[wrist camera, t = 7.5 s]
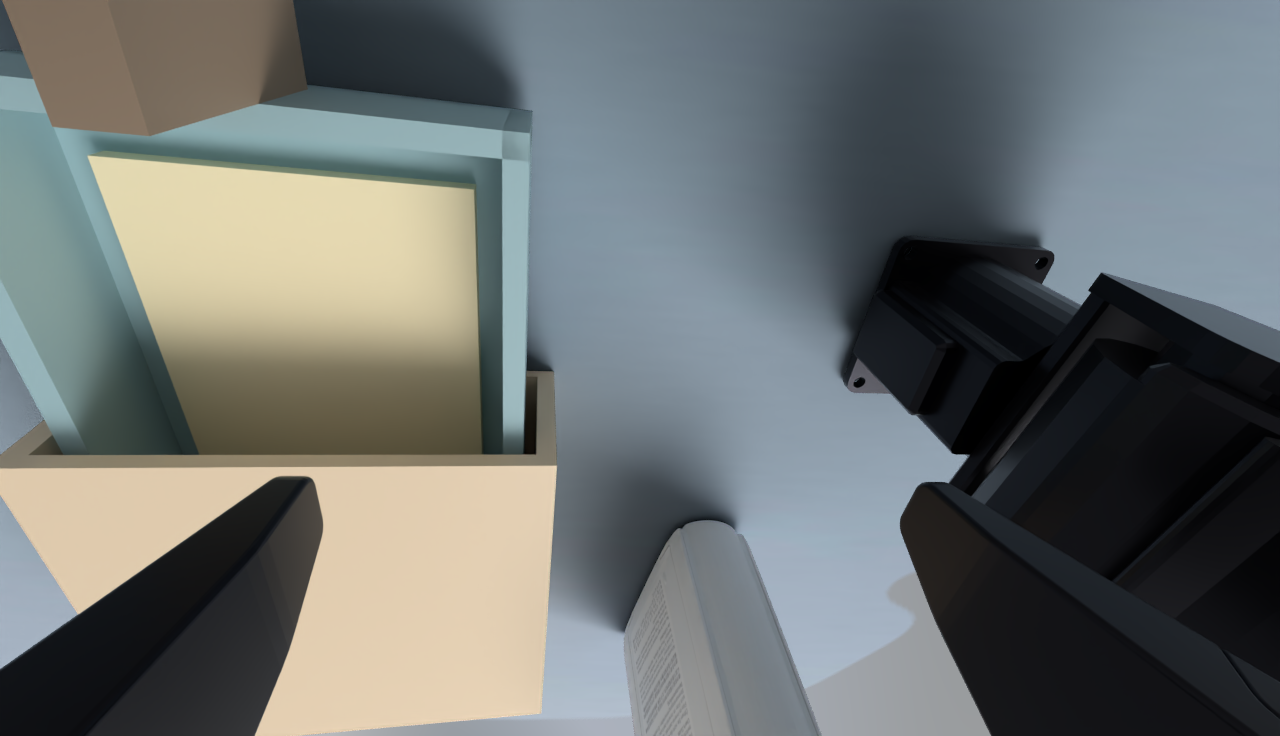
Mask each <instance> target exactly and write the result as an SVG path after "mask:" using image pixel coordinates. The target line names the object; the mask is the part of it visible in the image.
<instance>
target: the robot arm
mask: <svg viewBox="0 0 1280 736" xmlns="http://www.w3.org/2000/svg"><path fill="white" fill-rule="evenodd" d="M909 247H912V248H911V251H910V252H909V253H908V254H907V255H906V256H904V253H905V251H906V250H907V249H908V248H909ZM1038 259H1039V261H1038V262H1037V260H1038ZM1036 262H1037V263H1036ZM1053 262H1054V254H1053V253H1052V252H1051V251H1049V250H1047V249H1044V248H1042V247H1036V246H1024V245H1012V244H1001V243H989V242H977V241H965V240H953V239H942V238H930V237H918V236H905V237H903V238H901V239H899V240H898V241H897V242H896V243H895V245H894V246H893V248H892V251H891V253H890V256H889V259H888V261H887V264H886V267H885V269H884V272H883V274H882V277H881V280H880V282H879V285H878V288H877V290H876V293H875V295H874V296H873V298H872V301H871V304H870V306H869V309H868V312H867V314H866V317H865V320H864V322H863V325H862V327H861V330H860V333H859V335H858V338H857V341H856V343H855V346H854V349H853V354H852V356H851V359H850V362H849V364H848V367H847V370H846V372H845V375H844V378H843V382H844V385H845V386H846V387H847V388H848V389H849V390H850V391H851V392H854V393H888V394H891V395H892V396H893V397H894V398H895V399H896V400H897V401H898V402H899V403H900V404H901V405H902V407H903V408H904V409H905V410H906V411H907V412H908V413H909V414H911V415H916V416H917V417H918V418H919V419H920V420H921V421H922V422H923V423H924V424H925V425H926V426H927V427H928V428H929V429H930V430H931V431H932V433H933V434H934V435H935V436H936V437H937V438H938V439H939V440H940V441H941V442H942V443H943V444H944V445H945V446H946V447H947V448H948V449H949V451H950V452H951V453H952V454H965V455H966V456H967V457H968V458H967V459H966V460H965V462H964V463H963V464H962V466H961V467H960V468H959V470H958V471H957V472H956V474H955V475H954V476H953V478H952V479H951V480H950V482H949V483H945V482H924V483H921V484H920V485H919V486H918V487H917V488H916V490H915V492H914V493H913V495H912V497H911V499H910V501H909V503H908V505H907V506H906V508H905V510H904V512H903V514H902V516H901V519H900V530H901V534H902V536H903V539H904V542H905V544H906V547H907V549H908V552H909V555H910V557H911V560H912V563H913V565H914V568H915V570H916V573H917V575H918V578H919V581H920V583H921V586H922V589H923V591H924V594H925V596H926V599H927V602H928V604H929V607H930V609H931V612H932V614H933V617H934V619H935V622H936V624H937V626H938V628H939V630H940V632H941V635H942V637H943V639H944V641H945V643H946V645H947V647H948V649H949V651H950V653H951V655H952V657H953V659H954V661H955V663H956V665H957V667H958V669H959V671H960V673H961V675H962V677H963V679H964V682H965V683H966V686H967V688H968V690H969V692H970V694H971V696H972V698H973V700H974V702H975V704H976V706H977V708H978V710H979V712H980V714H981V716H982V718H983V720H984V722H985V724H986V726H987V728H988V730H989V732H990V734H991V736H1280V331H1278V330H1276V329H1273V328H1271V327H1268V326H1266V325H1263V324H1261V323H1258V322H1256V321H1253V320H1251V319H1248V318H1246V317H1243V316H1241V315H1238V314H1236V313H1233V312H1231V311H1228V310H1226V309H1223V308H1221V307H1218V306H1215V305H1212V304H1209V303H1205V302H1202V301H1199V300H1195V299H1192V298H1188V297H1185V296H1181V295H1178V294H1174V293H1171V292H1168V291H1164V290H1161V289H1157V288H1154V287H1150V286H1147V285H1144V284H1140V283H1137V282H1133V281H1130V280H1126V279H1123V278H1120V277H1116V276H1113V275H1109V274H1106V273H1101V274H1100V275H1099V276H1098V278H1097V279H1096V280H1095V282H1094V283H1093V284H1092V286H1091V287H1090V288H1089V291H1090V292H1091V294H1090V295H1089V296H1088V298H1087V299H1086V300H1085V302H1084V303H1083V304H1082V305H1080V304H1078V303H1076V302H1074V301H1072V300H1070V299H1068V298H1067V297H1065V296H1063V295H1061V294H1059V293H1057V292H1055V291H1053V290H1051V289H1050V288H1048V287H1046V286H1044V285H1042V283H1043V281H1044V279H1045V277H1046V275H1047V274H1048V272H1049V270H1050V268H1051V266H1052V264H1053ZM1035 263H1036V264H1035ZM857 378H860V379H859V380H858V381H856V382H854V381H855V380H856V379H857ZM322 534H323V517H322V513H321V508H320V504H319V499H318V495H317V490H316V486H315V483H314V481H313V479H312V478H310V477H308V476H278V477H275V478H273V479H271V480H269V481H268V482H267V483H265V484H264V485H262V486H261V487H259V488H258V489H257V490H255V491H254V492H252V493H251V494H249V495H248V496H247V497H245V498H244V499H242V500H241V501H239V502H238V503H237V504H235V505H234V506H232V507H231V508H229V509H228V510H227V511H225V512H224V513H222V514H221V515H219V516H218V517H217V518H215V519H214V520H212V521H211V522H209V523H208V524H207V525H205V526H204V527H202V528H201V529H199V530H198V531H197V532H195V533H194V534H192V535H191V536H189V537H188V538H187V539H185V540H184V541H182V542H181V543H179V544H178V545H177V546H175V547H174V548H172V549H171V550H170V551H168V552H167V553H165V554H164V555H162V556H161V557H160V558H158V559H157V560H155V561H154V562H152V563H151V564H150V565H148V566H147V567H145V568H144V569H142V570H141V571H140V572H138V573H137V574H135V575H134V576H132V577H131V578H130V579H128V580H127V581H125V582H124V583H122V584H121V585H120V586H118V587H117V588H115V589H114V590H112V591H111V592H110V593H108V594H107V595H105V596H104V597H102V598H101V599H100V600H98V601H97V602H95V603H94V604H92V605H91V606H90V607H88V608H87V609H85V610H84V611H82V612H81V613H80V614H78V615H77V616H75V617H74V618H72V619H71V620H70V621H68V622H67V623H65V624H64V625H62V626H61V627H60V628H58V629H57V630H55V631H54V632H52V633H51V634H50V635H48V636H47V637H45V638H44V639H42V640H41V641H40V642H38V643H37V644H35V645H34V646H32V647H31V648H30V649H28V650H27V651H25V652H24V653H23V654H21V655H20V656H18V657H17V658H15V659H14V660H13V661H11V662H10V663H8V664H7V665H5V666H4V667H3V668H1V669H0V736H255V734H256V732H257V729H258V727H259V724H260V722H261V719H262V717H263V715H264V712H265V710H266V707H267V705H268V702H269V700H270V697H271V695H272V693H273V690H274V688H275V685H276V683H277V680H278V678H279V676H280V673H281V671H282V668H283V665H284V663H285V660H286V658H287V655H288V652H289V649H290V646H291V643H292V640H293V637H294V633H295V630H296V627H297V623H298V620H299V616H300V613H301V609H302V606H303V602H304V598H305V595H306V591H307V588H308V584H309V581H310V577H311V574H312V570H313V567H314V563H315V560H316V556H317V553H318V549H319V546H320V542H321V539H322Z"/></svg>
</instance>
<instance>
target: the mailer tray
mask: <svg viewBox="0 0 1280 736" xmlns="http://www.w3.org/2000/svg"><path fill="white" fill-rule="evenodd" d="M2 1H3V4H4V6H5V9H6V11H7V14H8V16H9V19H10V21H11V24H12V26H13V29H14V31H15V34H16V37H17V39H18V42H19V44H20V47H21V49H22V51H16V50H1V51H0V339H1V340H2V342H3V344H4V346H5V348H6V350H7V352H8V353H9V355H10V357H11V359H12V361H13V363H14V364H15V366H16V368H17V370H18V372H19V374H20V376H21V377H22V379H23V381H24V383H25V385H26V387H27V388H28V390H29V392H30V394H31V396H32V398H33V400H34V401H35V403H36V405H37V407H38V409H39V411H40V412H41V414H42V416H43V418H44V420H45V422H46V424H47V425H48V427H49V429H50V431H51V433H52V435H53V436H54V438H55V440H56V442H57V444H58V446H59V447H60V449H61V451H62V453H63V455H524V453H525V410H526V367H527V324H528V281H529V238H530V195H531V152H532V111H529V110H521V109H512V108H503V107H495V106H486V105H478V104H469V103H461V102H452V101H444V100H435V99H427V98H418V97H409V96H401V95H392V94H384V93H375V92H367V91H358V90H350V89H341V88H332V87H324V86H315V85H307V81H306V75H305V70H304V64H303V58H302V52H301V46H300V40H299V34H298V28H297V22H296V16H295V10H294V4H293V0H2Z"/></svg>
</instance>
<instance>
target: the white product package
mask: <svg viewBox="0 0 1280 736" xmlns="http://www.w3.org/2000/svg"><path fill="white" fill-rule="evenodd" d="M624 657H625V665H626V673H627V680H628V688H629V695H630V703H631V711H632V719H633V726H634V734H635V736H822V735H821V732H820V730H819V727H818V724H817V722H816V719H815V716H814V714H813V711H812V708H811V706H810V703H809V701H808V698H807V695H806V693H805V690H804V687H803V685H802V682H801V679H800V677H799V674H798V672H797V669H796V666H795V664H794V661H793V658H792V656H791V653H790V650H789V648H788V645H787V642H786V640H785V637H784V635H783V632H782V629H781V627H780V624H779V622H778V619H777V616H776V614H775V612H774V609H773V606H772V604H771V601H770V599H769V596H768V593H767V591H766V588H765V585H764V583H763V580H762V578H761V575H760V572H759V570H758V568H757V565H756V563H755V560H754V557H753V555H752V552H751V550H750V547H749V545H748V543H747V541H746V539H745V538H744V536H743V535H741V534H737V533H736V532H735V530H734V529H733V528H732V527H731V526H729V525H727V524H725V523H723V522H719V521H712V520H702V521H695V522H691V523H688V524H686V525H685V526H684V527H683V528H682V529H680V528H678V529H677V530H676V531H675V532H674V533H673V534H672V536H671V537H670V539H669V540H668V541H667V543H666V544H665V546H664V548H663V550H662V552H661V554H660V556H659V558H658V560H657V562H656V563H655V566H654V568H653V570H652V572H651V574H650V576H649V578H648V580H647V582H646V584H645V586H644V588H643V590H642V593H641V595H640V597H639V599H638V601H637V603H636V605H635V608H634V610H633V612H632V614H631V617H630V619H629V622H628V624H627V627H626V630H625V635H624Z"/></svg>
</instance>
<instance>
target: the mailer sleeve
mask: <svg viewBox="0 0 1280 736" xmlns="http://www.w3.org/2000/svg"><path fill="white" fill-rule="evenodd" d="M556 472H557V452H556V421H555V390H554V372H553V371H526V410H525V453H524V455H63V453H62V451H61V449H60V447H59V446H58V444H57V442H56V440H55V438H54V436H53V435H52V433H51V431H50V429H49V427H48V425H47V424H46V422H45V420H43V421H42V422H41V423H40V424H38V425H37V426H36V427H35V428H33V429H32V430H31V431H30V432H28V433H27V434H26V435H25V436H23V437H22V438H21V439H20V440H18V441H17V442H16V443H15V444H13V445H12V446H11V447H10V448H8V449H7V450H6V451H5V452H3V453H2V454H1V455H0V495H1V497H2V498H3V500H4V501H5V503H6V504H7V506H8V507H9V509H10V511H11V512H12V514H13V515H14V517H15V518H16V520H17V521H18V523H19V524H20V526H21V527H22V529H23V530H24V532H25V534H26V535H27V537H28V538H29V540H30V541H31V543H32V544H33V546H34V547H35V549H36V550H37V552H38V554H39V555H40V557H41V558H42V560H43V561H44V563H45V564H46V566H47V567H48V569H49V570H50V572H51V573H52V575H53V577H54V578H55V580H56V581H57V583H58V584H59V586H60V587H61V589H62V590H63V592H64V593H65V595H66V597H67V598H68V600H69V601H70V603H71V604H72V606H73V607H74V609H75V610H76V612H77V613H78V614H80V613H81V612H82V611H84V610H85V609H87V608H88V607H90V606H91V605H92V604H94V603H95V602H97V601H98V600H100V599H101V598H102V597H104V596H105V595H107V594H108V593H110V592H111V591H112V590H114V589H115V588H117V587H118V586H120V585H121V584H122V583H124V582H125V581H127V580H128V579H130V578H131V577H132V576H134V575H135V574H137V573H138V572H140V571H141V570H142V569H144V568H145V567H147V566H148V565H150V564H151V563H152V562H154V561H155V560H157V559H158V558H160V557H161V556H162V555H164V554H165V553H167V552H168V551H170V550H171V549H172V548H174V547H175V546H177V545H178V544H179V543H181V542H182V541H184V540H185V539H187V538H188V537H189V536H191V535H192V534H194V533H195V532H197V531H198V530H199V529H201V528H202V527H204V526H205V525H207V524H208V523H209V522H211V521H212V520H214V519H215V518H217V517H218V516H219V515H221V514H222V513H224V512H225V511H227V510H228V509H229V508H231V507H232V506H234V505H235V504H237V503H238V502H239V501H241V500H242V499H244V498H245V497H247V496H248V495H249V494H251V493H252V492H254V491H255V490H257V489H258V488H259V487H261V486H262V485H264V484H265V483H267V482H268V481H269V480H271V479H273V478H275V477H278V476H308V477H310V478H312V479H313V481H314V483H315V486H316V490H317V495H318V499H319V504H320V508H321V513H322V517H323V534H322V539H321V542H320V546H319V549H318V553H317V556H316V560H315V563H314V567H313V570H312V574H311V577H310V581H309V584H308V588H307V591H306V595H305V598H304V602H303V606H302V609H301V613H300V616H299V620H298V623H297V627H296V630H295V633H294V637H293V640H292V643H291V646H290V649H289V652H288V655H287V658H286V660H285V663H284V665H283V668H282V671H281V673H280V676H279V678H278V680H277V683H276V685H275V688H274V690H273V693H272V695H271V697H270V700H269V702H268V705H267V707H266V710H265V712H264V715H263V717H262V719H261V722H260V724H259V727H258V729H257V732H256V734H255V736H299V735H310V734H321V733H331V732H343V731H354V730H364V729H376V728H387V727H398V726H409V725H420V724H430V723H442V722H453V721H464V720H475V719H486V718H497V717H508V716H519V715H530V714H541V707H542V692H543V676H544V660H545V645H546V629H547V613H548V598H549V582H550V566H551V551H552V535H553V519H554V504H555V488H556Z"/></svg>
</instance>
